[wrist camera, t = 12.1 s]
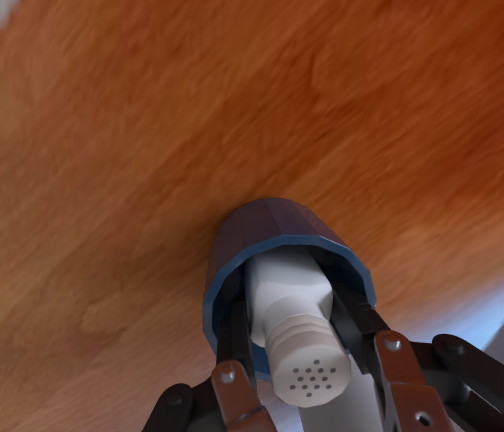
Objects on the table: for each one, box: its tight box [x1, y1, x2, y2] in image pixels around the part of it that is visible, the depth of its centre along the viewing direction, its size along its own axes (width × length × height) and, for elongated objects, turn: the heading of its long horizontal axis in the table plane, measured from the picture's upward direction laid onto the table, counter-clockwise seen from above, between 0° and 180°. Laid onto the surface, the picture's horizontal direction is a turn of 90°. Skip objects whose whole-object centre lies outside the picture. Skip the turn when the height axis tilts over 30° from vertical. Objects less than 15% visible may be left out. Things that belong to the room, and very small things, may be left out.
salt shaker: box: [244, 244, 351, 408], centre depth 14 cm, size 4×4×10 cm
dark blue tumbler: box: [203, 198, 376, 381], centre depth 17 cm, size 9×9×7 cm
